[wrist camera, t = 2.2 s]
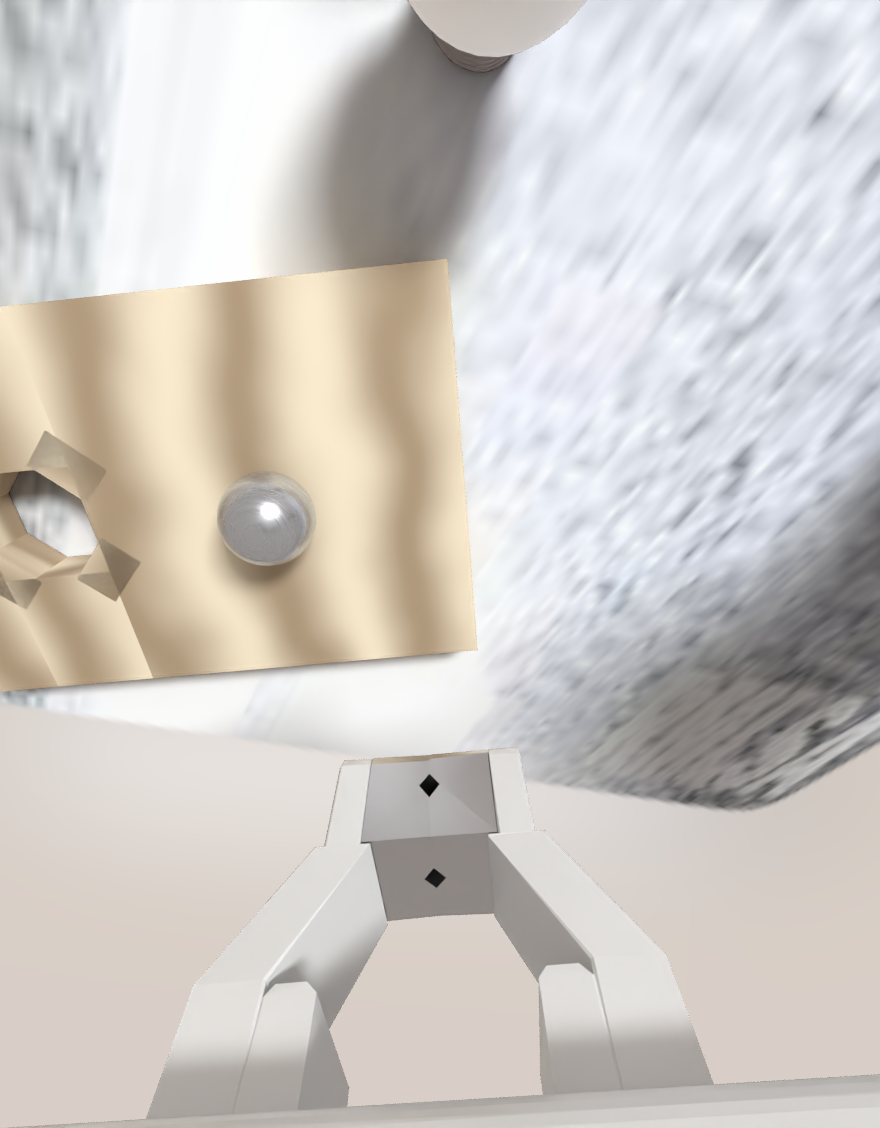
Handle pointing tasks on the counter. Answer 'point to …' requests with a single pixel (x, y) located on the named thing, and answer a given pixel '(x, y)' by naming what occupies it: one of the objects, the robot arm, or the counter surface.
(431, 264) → the beige flat wooden board
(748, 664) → the counter surface
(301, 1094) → the robot arm
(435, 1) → the light bulb
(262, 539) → the ball
